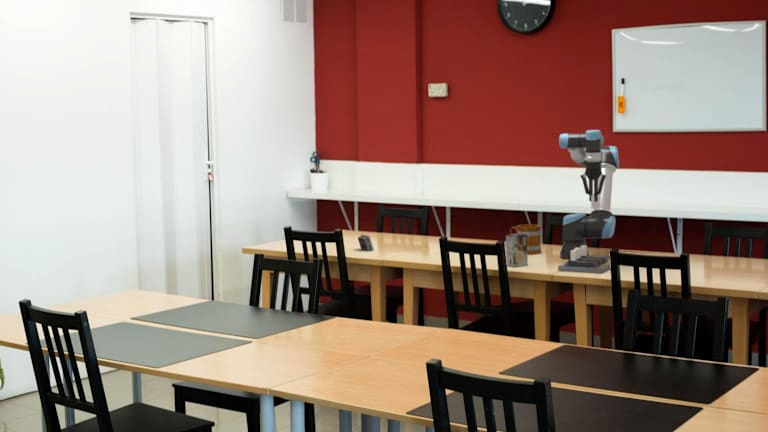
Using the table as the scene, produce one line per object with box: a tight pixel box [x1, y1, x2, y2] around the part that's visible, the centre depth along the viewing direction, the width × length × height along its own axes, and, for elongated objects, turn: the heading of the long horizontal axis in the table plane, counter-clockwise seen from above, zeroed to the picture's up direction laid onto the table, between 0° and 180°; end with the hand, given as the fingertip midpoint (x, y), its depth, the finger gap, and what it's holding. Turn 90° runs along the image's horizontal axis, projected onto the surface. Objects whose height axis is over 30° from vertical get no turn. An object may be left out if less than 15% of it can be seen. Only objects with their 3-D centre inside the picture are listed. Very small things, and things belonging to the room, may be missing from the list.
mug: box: [509, 223, 542, 256], centre depth 565 cm, size 20×14×15 cm
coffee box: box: [505, 233, 529, 268], centre depth 524 cm, size 9×6×16 cm
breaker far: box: [580, 244, 588, 256], centre depth 519 cm, size 3×2×5 cm
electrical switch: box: [357, 233, 375, 252], centre depth 590 cm, size 9×5×9 cm, turn 30°
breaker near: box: [570, 250, 577, 261], centre depth 505 cm, size 3×2×5 cm
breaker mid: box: [574, 248, 581, 259], centre depth 513 cm, size 3×2×5 cm
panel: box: [557, 254, 611, 274], centre depth 511 cm, size 26×22×4 cm
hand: (593, 208), depth 513 cm, fingers closed
